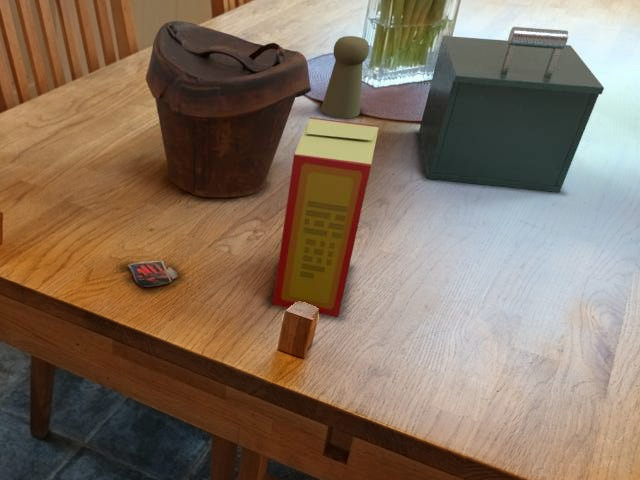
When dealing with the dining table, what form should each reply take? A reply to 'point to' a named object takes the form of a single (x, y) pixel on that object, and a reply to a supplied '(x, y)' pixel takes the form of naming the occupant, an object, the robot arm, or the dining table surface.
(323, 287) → the baking soda box
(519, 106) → the waste bin
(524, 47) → the bin lid
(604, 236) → the dining table surface
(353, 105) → the olive pawn figure
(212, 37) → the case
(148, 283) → the matchbox
